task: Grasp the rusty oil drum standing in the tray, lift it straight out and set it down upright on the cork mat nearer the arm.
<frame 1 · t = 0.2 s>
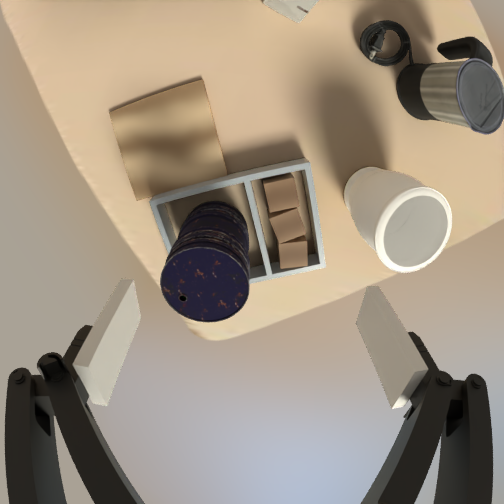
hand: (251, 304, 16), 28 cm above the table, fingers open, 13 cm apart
jar: (368, 192, 42), on the table
mat: (167, 141, 38), on the table
block c: (289, 243, 46), resting in tray
milk frother: (403, 72, 34), on the table
block b: (284, 216, 44), resting in tray
tray: (241, 225, 44), on the table
rusty oil drum: (215, 231, 45), resting in tray
block a: (278, 187, 42), resting in tray
skincare box: (289, 4, 29), on the table
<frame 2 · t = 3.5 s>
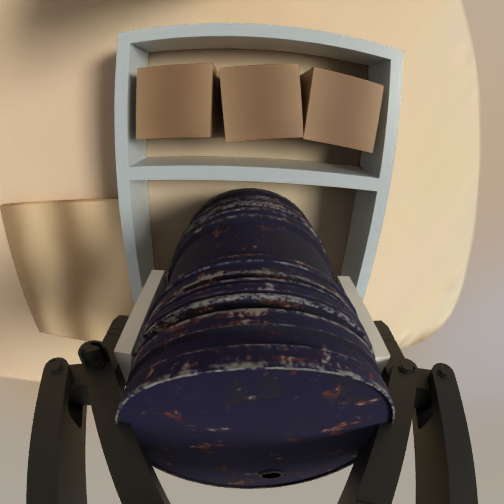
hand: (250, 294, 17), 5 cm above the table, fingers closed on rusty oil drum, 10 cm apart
mat: (75, 277, 22), on the table
block c: (326, 109, 17), resting in tray
block b: (258, 103, 17), resting in tray
tray: (252, 200, 20), on the table
rusty oil drum: (249, 251, 22), resting in tray, touching gripper
block a: (186, 102, 17), resting in tray
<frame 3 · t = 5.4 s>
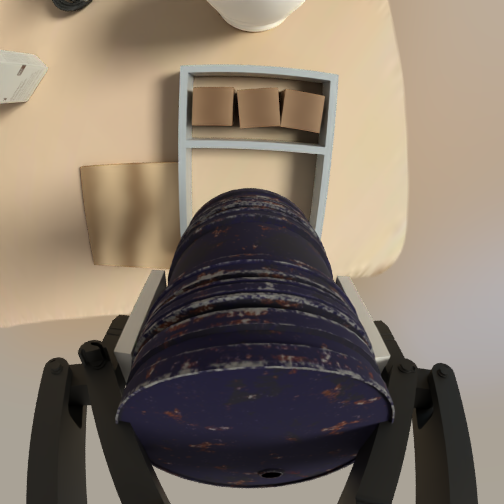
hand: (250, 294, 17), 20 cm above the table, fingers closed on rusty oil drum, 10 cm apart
jar: (254, 2, 24), on the table
mat: (133, 217, 36), on the table
block c: (296, 110, 30), resting in tray
block b: (257, 108, 30), resting in tray
tray: (254, 163, 33), on the table
rusty oil drum: (249, 251, 22), point 15 cm above the table, touching gripper
block a: (216, 106, 30), resting in tray
skincare box: (32, 76, 26), on the table
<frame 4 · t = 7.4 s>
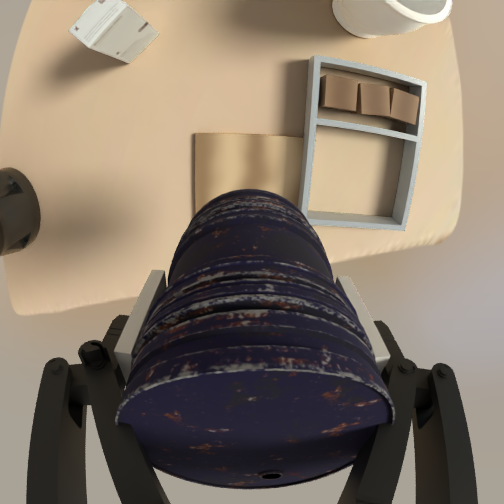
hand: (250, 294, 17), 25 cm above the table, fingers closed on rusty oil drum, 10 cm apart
jar: (359, 13, 28), on the table
mat: (247, 185, 40), on the table
block c: (391, 105, 34), resting in tray
block b: (363, 100, 34), resting in tray
tray: (359, 144, 37), on the table
rusty oil drum: (249, 252, 22), point 20 cm above the table, touching gripper
block a: (332, 94, 34), resting in tray
skincare box: (135, 40, 30), on the table
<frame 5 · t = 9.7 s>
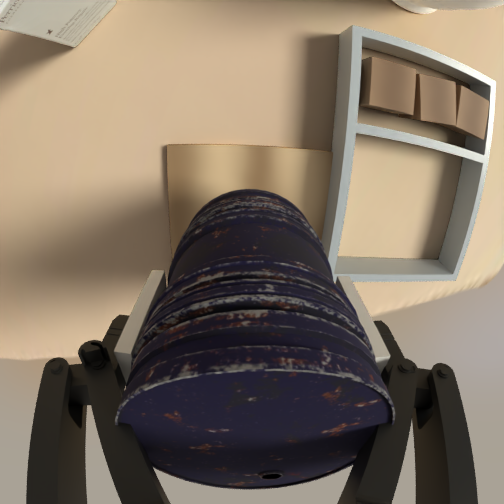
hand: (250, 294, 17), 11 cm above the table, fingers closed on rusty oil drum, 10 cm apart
mat: (246, 222, 27), on the table
block c: (449, 109, 22), resting in tray
block b: (415, 98, 22), resting in tray
tray: (408, 163, 25), on the table
rusty oil drum: (249, 252, 22), point 6 cm above the table, touching gripper
block a: (373, 87, 22), resting in tray
skincare box: (86, 14, 17), on the table
when the fingers open (7 cm above the table, at t = 11.6 s): rusty oil drum drops 1 cm, resting on mat.
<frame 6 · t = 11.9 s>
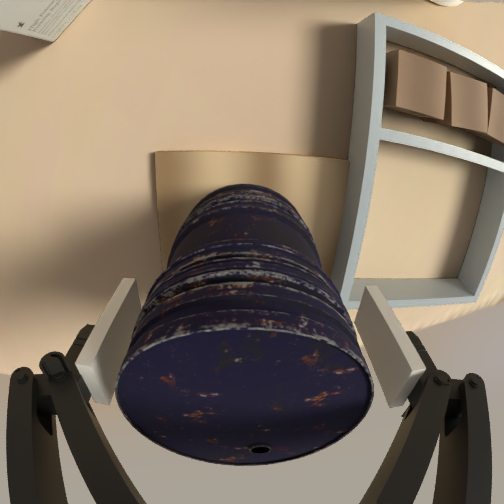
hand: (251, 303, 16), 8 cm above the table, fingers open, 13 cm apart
mat: (249, 241, 23), on the table
block c: (475, 113, 18), resting in tray
block b: (441, 100, 18), resting in tray
tray: (432, 173, 21), on the table
rusty oil drum: (244, 243, 23), resting on mat
block a: (395, 86, 18), resting in tray
skincare box: (66, 5, 14), on the table
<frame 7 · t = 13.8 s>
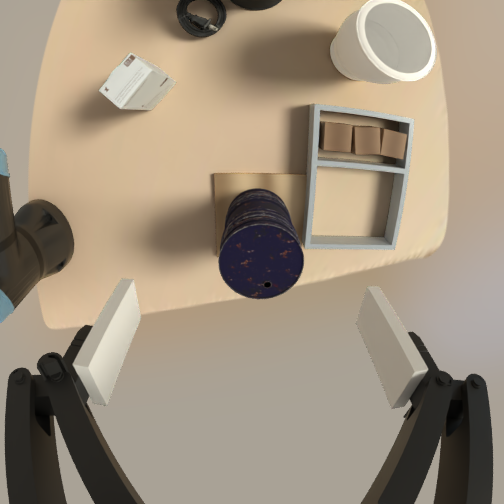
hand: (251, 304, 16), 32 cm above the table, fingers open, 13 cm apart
jar: (354, 55, 36), on the table
mat: (259, 216, 47), on the table
block c: (383, 141, 42), resting in tray
milk frother: (234, 0, 32), on the table
block b: (358, 138, 42), resting in tray
tray: (354, 177, 45), on the table
rusty oil drum: (257, 217, 47), resting on mat
block a: (330, 135, 42), resting in tray
skincare box: (155, 87, 38), on the table
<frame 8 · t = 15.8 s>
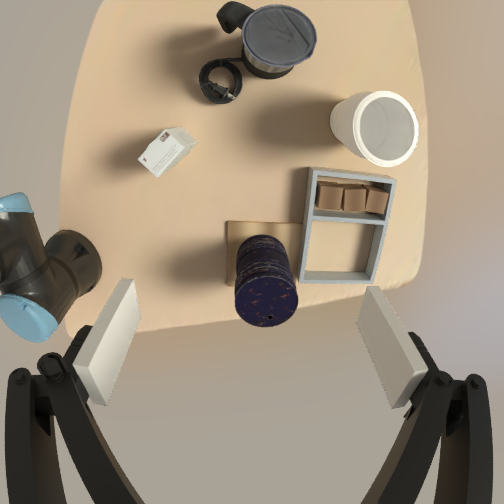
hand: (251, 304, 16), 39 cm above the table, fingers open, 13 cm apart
jar: (351, 122, 47), on the table
mat: (263, 255, 59), on the table
block c: (368, 195, 53), resting in tray
milk frother: (249, 67, 43), on the table
block b: (348, 193, 53), resting in tray
tray: (342, 226, 56), on the table
rusty oil drum: (261, 256, 58), resting on mat
block a: (325, 191, 53), resting in tray
skincare box: (179, 144, 49), on the table
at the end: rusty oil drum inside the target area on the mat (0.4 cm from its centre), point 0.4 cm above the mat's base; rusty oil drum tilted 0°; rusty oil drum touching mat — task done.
